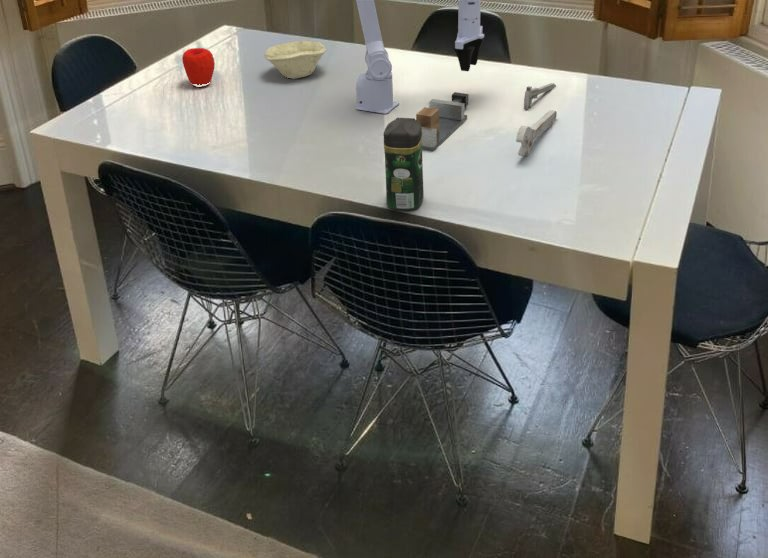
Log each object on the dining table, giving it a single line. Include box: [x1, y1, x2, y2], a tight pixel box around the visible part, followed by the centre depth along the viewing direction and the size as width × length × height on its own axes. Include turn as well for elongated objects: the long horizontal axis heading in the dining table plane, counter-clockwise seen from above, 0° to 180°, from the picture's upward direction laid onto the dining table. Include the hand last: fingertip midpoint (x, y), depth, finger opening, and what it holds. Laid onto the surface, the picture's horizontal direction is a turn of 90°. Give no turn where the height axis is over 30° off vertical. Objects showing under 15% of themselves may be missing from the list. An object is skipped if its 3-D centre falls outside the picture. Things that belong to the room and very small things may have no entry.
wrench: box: [515, 109, 557, 157], centre depth 228 cm, size 8×2×30 cm
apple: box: [181, 47, 216, 85], centre depth 269 cm, size 9×9×11 cm
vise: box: [422, 114, 468, 152], centre depth 235 cm, size 9×22×5 cm, turn 154°
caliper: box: [523, 82, 557, 111], centre depth 252 cm, size 20×1×6 cm, turn 149°
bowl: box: [263, 40, 327, 80], centre depth 273 cm, size 14×18×15 cm
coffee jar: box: [383, 117, 425, 212], centre depth 199 cm, size 10×8×19 cm
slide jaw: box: [428, 91, 469, 120], centre depth 244 cm, size 9×11×4 cm
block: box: [415, 106, 439, 133], centre depth 231 cm, size 4×5×6 cm
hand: (468, 67), depth 248 cm, fingers open, 5 cm apart
